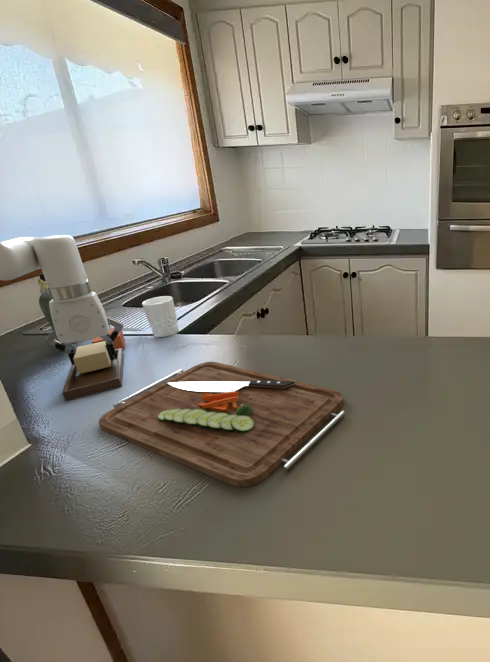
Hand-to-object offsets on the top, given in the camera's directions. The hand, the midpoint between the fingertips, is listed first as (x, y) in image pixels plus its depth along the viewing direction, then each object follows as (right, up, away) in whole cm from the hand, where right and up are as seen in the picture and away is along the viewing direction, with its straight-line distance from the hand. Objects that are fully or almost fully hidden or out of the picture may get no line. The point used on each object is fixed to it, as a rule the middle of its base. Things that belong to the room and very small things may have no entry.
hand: (95, 361), depth 102 cm
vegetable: (-17, +2, +14) cm, 23 cm away
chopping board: (+39, -8, -22) cm, 45 cm away
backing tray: (+2, -3, -3) cm, 5 cm away
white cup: (+7, +6, +21) cm, 23 cm away
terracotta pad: (-4, +3, +13) cm, 14 cm away
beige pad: (0, -1, 0) cm, 1 cm away
